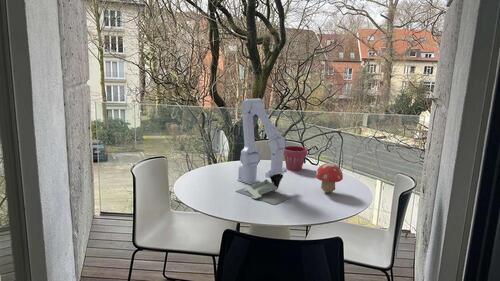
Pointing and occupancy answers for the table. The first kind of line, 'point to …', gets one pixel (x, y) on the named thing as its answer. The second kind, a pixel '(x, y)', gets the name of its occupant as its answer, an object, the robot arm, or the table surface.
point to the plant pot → (294, 157)
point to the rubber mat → (268, 196)
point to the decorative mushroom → (329, 176)
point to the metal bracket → (260, 188)
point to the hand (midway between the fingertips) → (275, 188)
